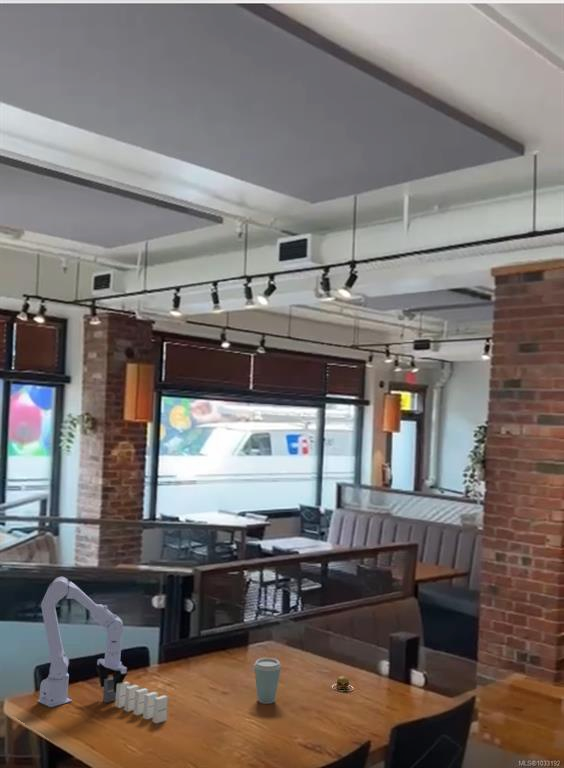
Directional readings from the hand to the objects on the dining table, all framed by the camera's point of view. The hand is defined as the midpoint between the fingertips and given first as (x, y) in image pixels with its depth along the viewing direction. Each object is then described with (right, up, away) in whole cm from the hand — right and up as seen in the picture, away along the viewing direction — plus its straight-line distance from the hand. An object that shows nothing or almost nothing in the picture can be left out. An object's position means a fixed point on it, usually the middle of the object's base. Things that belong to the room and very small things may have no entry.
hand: (110, 688), depth 282 cm
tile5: (+17, -4, -14) cm, 22 cm away
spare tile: (0, -4, 0) cm, 4 cm away
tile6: (+21, -4, -17) cm, 27 cm away
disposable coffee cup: (+57, -9, +10) cm, 59 cm away
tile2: (+5, -4, -5) cm, 8 cm away
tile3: (+9, -4, -8) cm, 13 cm away
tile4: (+13, -4, -11) cm, 18 cm away
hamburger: (+89, -13, +30) cm, 94 cm away
